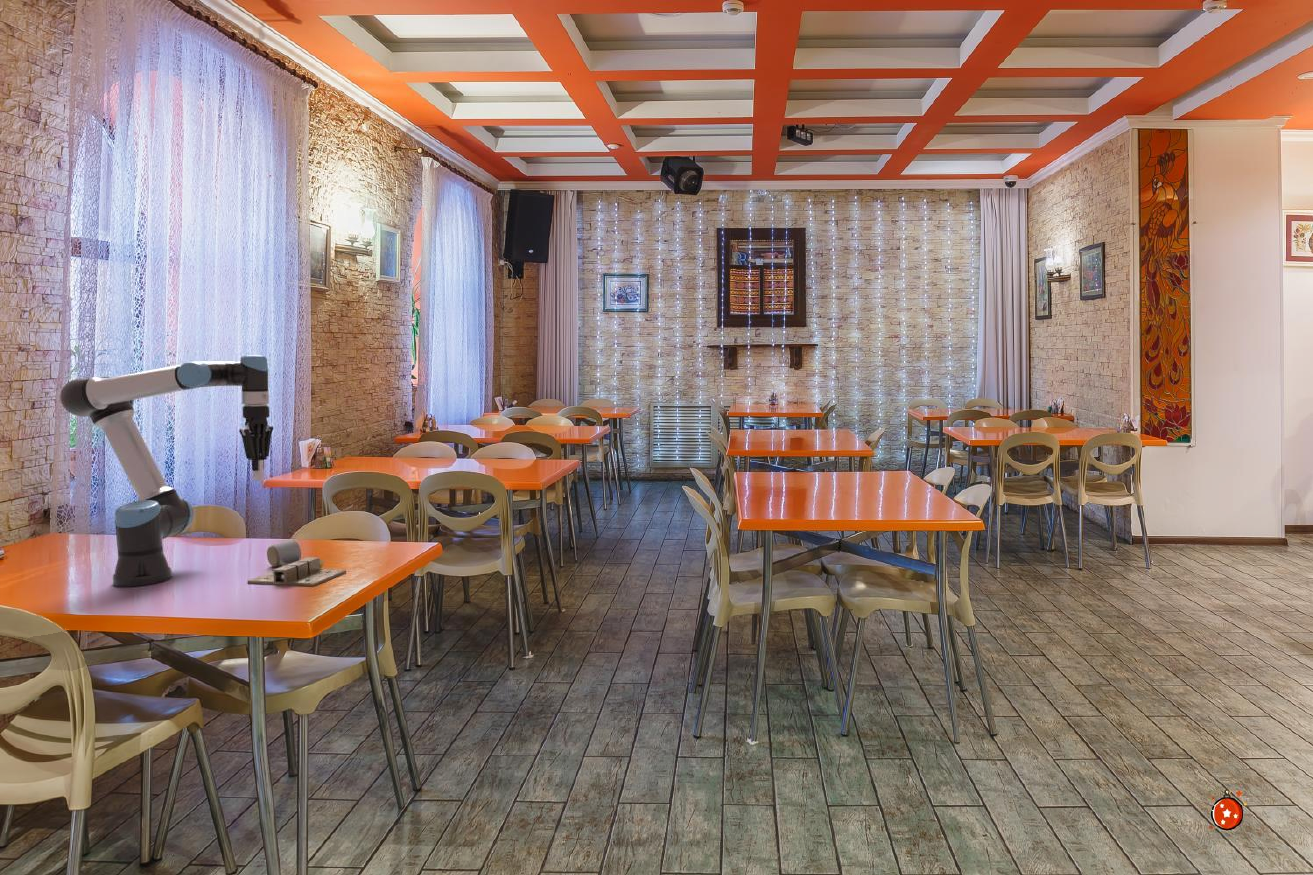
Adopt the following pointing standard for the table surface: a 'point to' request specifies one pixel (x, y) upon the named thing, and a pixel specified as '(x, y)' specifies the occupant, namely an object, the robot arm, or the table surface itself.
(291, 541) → the ceramic mug
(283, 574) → the pin
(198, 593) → the table surface
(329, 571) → the hinge
